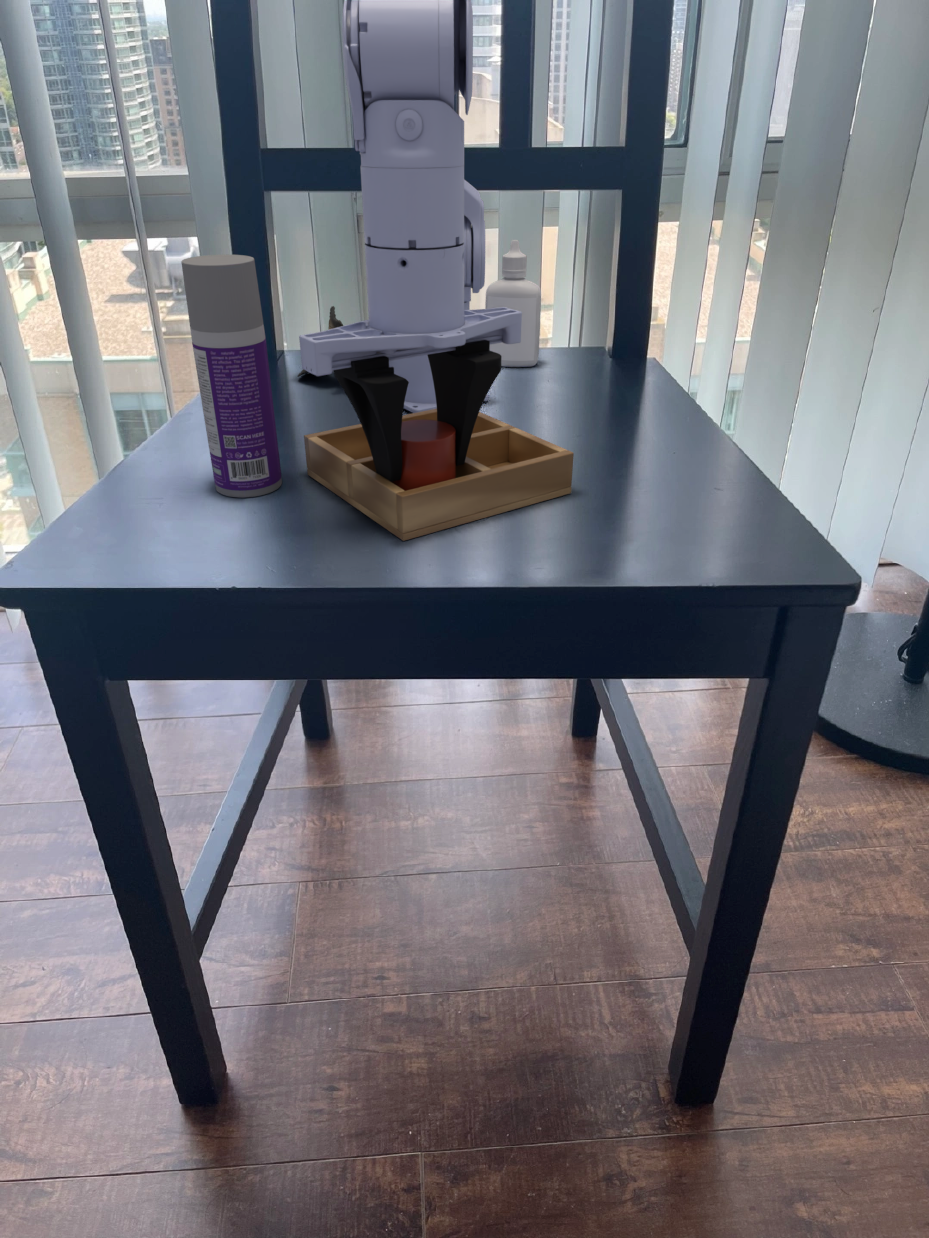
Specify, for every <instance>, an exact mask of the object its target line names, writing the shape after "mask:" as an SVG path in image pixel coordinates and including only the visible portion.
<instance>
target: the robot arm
mask: <svg viewBox="0 0 929 1238" xmlns="http://www.w3.org/2000/svg"><path fill="white" fill-rule="evenodd" d="M342 6H343V7H342V18H341V30H342V32H341V36H342V37H341V38H342V39H341V40H342V41H341V42H342V56H343V57H342V58H343V69H344V78H345V85H346V91H347V94H348V98H349V103H350V108H351V115H352V129H353V139H354V149H355V151H356V152H359V155H360V166H359V167H360V185H361V200H362V202H361V203H362V221H363V238H364V239H363V240H364V259H365V261H364V262H365V277H366V294H367V296H366V297H367V311H368V312H367V313H368V314H367V315H368V319H365V320H361V321H357V322H352V323H349V324H345V325H343V326H341V327H337V328H333V329H330V330H328V329H327V330H322V331H316V332H312V333H311V332H310V333H305V334H299V335H298V339H299V349H300V350H299V351H300V360H301V361H300V362H301V369H302V370H303V369H304V370H306V371H307V372H309V373H308V374H311V375H314V376H315V377H322V376H326V375H327V376H328V375H331V374H333V375H334V377H335V379H336V380H337V383H339V385H340V387H341V388H342V390H343V391H344V394H345V395H346V396H347V399H348V400H349V402H350V404H351V406H352V408H353V410H354V412H355V414H356V416H357V418H358V420H359V422H360V423H359V424H361V425H362V428H363V430H364V433H365V435H366V438H367V441H368V444H369V447H370V450H371V454H372V457H373V461H374V465H375V469H376V473H377V474H379V475H381V476H382V477H384V478H386V479H387V480H389V481H392V482H393V481H397V480H401V474H402V442H401V427H402V416H403V415H404V410H406V411H408V412H409V413H411V414H412V413H417V412H422V411H427V410H432V409H437V421H441V422H445V423H447V424H450V425H452V426H453V427H454V428H455V453H456V466H459V465H463V464H464V463H465V459H466V455H467V451H468V447H469V443H470V439H471V435H472V432H473V428H474V425H475V422H476V419H477V416H478V414H479V412H481V408H482V406H483V404H484V402H486V401H489V394H488V393H489V391H490V390H491V388H492V386H493V384H494V383H495V380H496V379H497V378H498V376H499V375H500V373H501V371H502V366H501V355H500V354H498V353H495V352H493V351H490V344H496V343H502V342H503V343H504V344H515V343H520V342H521V323H522V312H520V311H517V310H513V309H509V308H506V307H499V308H490V309H485V308H477V309H470V306H471V305H470V303H471V302H472V294H479V293H480V291H481V290H482V289H483V288H484V287H485V284H486V282H485V281H486V220H485V203H484V200H483V198H481V193H480V192H479V191H478V190H477V188H475V187H474V186H473V185H472V184H470V182H469V181H467V180H466V179H465V120H464V119H463V118H462V117H461V116H460V115H459V114H458V113H457V112H456V111H455V95H456V94H457V93H460V94H461V96H462V98H463V100H464V111H465V115H466V116H468V115H469V111H470V106H471V102H472V97H473V81H474V78H473V77H474V76H473V75H474V15H473V14H474V13H473V5H472V0H343V5H342Z"/></svg>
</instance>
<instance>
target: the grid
mask: <svg viewBox="0 0 929 1238" xmlns="http://www.w3.org/2000/svg"><path fill="white" fill-rule="evenodd" d="M410 420H435V421H437V409H432V410H427V411H422V412H417V413H412V412H411V413H408V414H403V416H402V422H404V421H410ZM303 440H304V451H305V464H306V473H307V476H309V477H310V478H312V479H314V480H315V481H316V482H318V483H319V484H321V485H322V486H323V487H325V488H326V489H327V490H329V491H330V492H332V493H333V494H335V495H337V496H338V497H339V498H340V499H343V500H344V501H345V502H346V503H348V504H350V505H351V506H352V507H354V508H355V509H356V510H358V511H359V512H361V513H362V514H364V515H366V517H368V518H370V519H371V520H372V521H374V522H376V523H377V524H378V525H380V527H382V528H383V529H385V530H386V531H388V532H389V533H391V534H392V535H394V536H395V537H397V538H398V539H400V540H401V541H402V542H404V541H408V540H411V539H415V538H418V537H422V536H426V535H429V534H433V533H436V532H440V531H444V530H446V529H447V530H448V529H450V528H454V527H458V526H461V525H465V524H467V523H472V522H476V521H479V520H482V519H486V518H489V517H493V516H497V515H499V514H503V513H506V512H509V511H510V512H511V511H514V510H517V509H521V508H525V507H528V506H531V505H534V504H538V503H541V502H545V501H549V500H552V499H556V498H559V497H562V496H566V495H570V494H572V483H573V471H574V469H573V468H574V454H575V453H574V452H573V451H571V450H569V449H566V448H564V447H561V446H559V445H557V444H555V443H553V442H550V441H548V440H545V439H543V438H541V437H539V436H537V435H534V434H532V433H529V432H527V431H525V430H523V429H520V428H518V427H515V426H513V425H511V424H509V423H507V422H504V421H502V420H500V419H497V418H495V417H493V416H491V415H488V414H486V413H483V412H481V411H479V414H478V416H477V419H476V422H475V425H474V428H473V432H472V435H471V439H470V443H469V447H468V451H467V455H466V459H465V463H464V464H463V465H459V466H456V478H454V479H451V480H447V481H443V482H439V483H435V484H431V485H427V486H423V487H419V488H415V489H411V490H407V491H405V490H403V489H401V488H400V487H398V486H397V485H395V484H393V483H392V482H390V481H389V480H387V479H386V478H384V477H382V476H381V475H379V474H377V473H376V469H375V465H374V461H373V457H372V454H371V450H370V447H369V444H368V441H367V438H366V435H365V433H364V430H363V428H362V425H361V423H358V424H353V425H349V426H348V425H347V426H343V427H338V428H334V429H333V428H332V429H329V430H324V431H317V432H314V433H309V434H304V435H303Z"/></svg>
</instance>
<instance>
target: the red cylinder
mask: <svg viewBox="0 0 929 1238" xmlns="http://www.w3.org/2000/svg"><path fill="white" fill-rule="evenodd" d="M401 442H402V474H401V480H397V481H393V482H392V481H390V482H392V483H393V484H395V485H397V486H398V487H400V488H401V489H403V490H405V491H407V490H411V489H415V488H419V487H423V486H427V485H431V484H435V483H439V482H443V481H447V480H451V479H454V478H456V453H455V428H454V427H453V426H452V425H450V424H447V423H445V422H441V421H435V420H410V421H404V422H402V427H401Z"/></svg>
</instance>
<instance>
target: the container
mask: <svg viewBox="0 0 929 1238" xmlns="http://www.w3.org/2000/svg"><path fill="white" fill-rule="evenodd" d="M180 263H181V271H182V277H183V282H184V283H183V284H184V291H185V299H186V300H185V301H186V308H187V313H188V314H187V315H188V322H189V323H188V324H189V329H190V338H191V344H192V350H193V357H194V364H195V369H196V376H197V382H198V388H199V395H200V401H201V407H202V413H203V418H204V426H205V431H206V432H205V433H206V437H207V444H208V450H209V456H210V464H211V469H212V474H213V475H212V476H213V481H214V487H215V490H216V492H218V493H219V494H221V495H222V496H226V497H231V498H255V497H260V496H265V495H268V494H271V493H273V492H275V491H276V490H279V488H280V487H281V486H282V485H283V479H282V478H283V477H282V468H281V460H280V451H279V443H278V434H277V425H276V415H275V407H274V398H273V389H272V382H271V373H270V365H269V356H268V347H267V339H266V333H265V326H264V317H263V310H262V304H261V298H260V297H261V296H260V290H259V282H258V276H257V269H256V262H255V258H254V257H253V256H250V255H243V254H207V255H196V256H191V257H187V258H184V259H182V260H181V261H180Z"/></svg>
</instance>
